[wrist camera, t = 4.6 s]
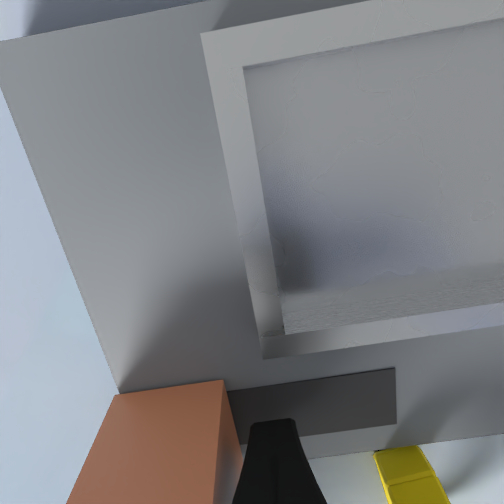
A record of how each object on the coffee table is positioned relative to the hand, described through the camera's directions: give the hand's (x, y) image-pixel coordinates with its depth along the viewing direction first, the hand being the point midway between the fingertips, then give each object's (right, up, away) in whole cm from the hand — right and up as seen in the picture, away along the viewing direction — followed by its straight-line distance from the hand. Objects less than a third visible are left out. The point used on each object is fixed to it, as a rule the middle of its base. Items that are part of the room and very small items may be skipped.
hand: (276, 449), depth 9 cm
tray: (+4, +7, -1) cm, 8 cm away
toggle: (-3, 0, +1) cm, 3 cm away
